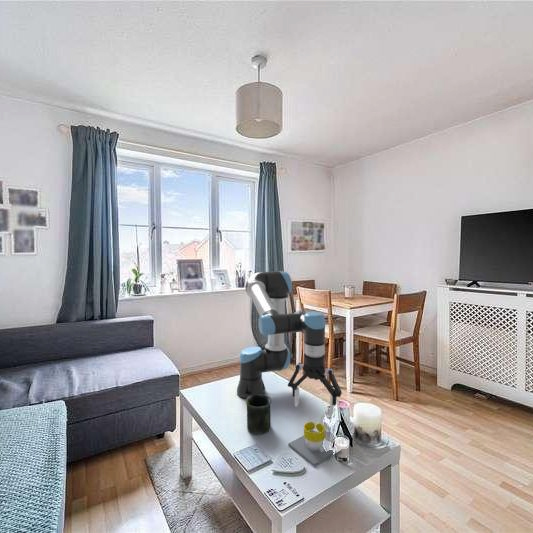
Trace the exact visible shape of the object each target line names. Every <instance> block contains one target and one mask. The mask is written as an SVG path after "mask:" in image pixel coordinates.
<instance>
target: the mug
mask: <svg viewBox="0 0 533 533" xmlns="http://www.w3.org/2000/svg"><path fill="white" fill-rule="evenodd" d="M245 404H246V428H247V430H248V431H249V432H250V433H251V434H253V435H264V434H267V433H268V432H270V430H271V427H272V426H271V425H272V422H271V420H272V419H271V416H272V415H271V412H272V410H271V409H272V408H271V404H272V399H271V397H270V396H268V395H266V394H264V395H262V394H256V395H252V396H249V397H248V398H247V399H245Z"/></svg>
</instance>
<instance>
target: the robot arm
mask: <svg viewBox="0 0 533 533" xmlns="http://www.w3.org/2000/svg"><path fill="white" fill-rule="evenodd" d="M244 287H245V292H246V294H247V296H248V297H249V298H250V299H251V301H252V302H253V304H254V306H255V309H256V311H257V312H258V315H259V318H258V328H259V329H258V330H259V333H260V334H261V335H263V336H264V335H265V336H266V335H267V343H266V344H265V346H264V349H262V348H261V347H260V346H250V347H246V348H244V349H242V350H241V352H240V353H239V381H238V385H237V388H236V394H237V396H238V397H239V398H241V399H244V400H246V399H247V398H248V397H249V396H252V395H256V394H262V395H266V386H265V382H264V380H263V373H270V372H278V371H279V372H281V371H284V370H287V369H288V368H289V367H290V364H291V351H290V349H289V347H287V345H286V344H285V334H289V333H291V334H292V333H302V334H303V335H304V336H303V337H304V340H303V342H304V345H303V349H304V350H303V351H304V352H303V353H304V355H303V357H304V358H303V364H301V362H298V363H297V364H296V365H295V371H294V372H293V374H292V376H291V377H290V380H289V382H288V384H287V386H288V387H289V388H291V389H292V392H291V393H292V397H294V407H298V405H299V404H300V396H299V395H300V387H299V385H300V384H301V383H302V382H303V381H305V379H307V378H309V379H310V380H316V381H320V382H321V383H322V384H323V386H324V387H325V388H326V390H327V391H328V393H329V394H330V397H329V402H330V403H329V415H331V416H332V415H333V414H334V410H335V409H334V407H335V406H336V405H337V402H338V401H337V399H338V398H340V397H341V395H342V394H343V392H342V389H341V387H340V386H339V383H338V381H337V379H336V376H335V374H334V368H332V367H331V368H326V366H325V350H326V349H325V348H326V346H325V344H326V343H325V340H326V339H325V338H326V336H325V334H326V319H325V318H326V317H325V314H323V313H322V312H318V311H309V312H306V311H303V310H297V311H295V312H292V313H285V312H286V310H285V308H286V307H285V306H286V300H287V299H288V297H289V294H291V293H292V290H293V282H292V278H291V275H290V274H289V273H288V271H282V270H277V271H275V270H271V271H257V272H254V273H253V274H251V275H249V277H248V279H247V281H246V282H245V286H244ZM302 370H303V372H304V374H303V375H302V376H300V378H299V379H298V380H297V381H296V382H295V380H296V378H297V376H298V375H299V373H300V371H302ZM325 374H326V375H327V376H328V378H329V380H330V382H331V383H330V382H329V380H328V378H327V377H326V375H325ZM294 382H295V383H294ZM288 387H287V388H288Z"/></svg>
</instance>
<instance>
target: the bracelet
mask: <svg viewBox="0 0 533 533" xmlns="http://www.w3.org/2000/svg"><path fill="white" fill-rule="evenodd" d="M315 429H316V431H319V432H320V433H313V432H309V431H311V430H315ZM303 436H304V437H305V438H306V439H308V440H310V441H313V442H320V441H322V440H324V438H326V427H325V425H324V424H322V423H320V422H318V423H316V424H315V423H314V422H313V421H308V422H306V423H304V425H303Z"/></svg>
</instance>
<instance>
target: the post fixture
mask: <svg viewBox="0 0 533 533" xmlns="http://www.w3.org/2000/svg"><path fill="white" fill-rule="evenodd" d="M309 432H313V433H320V431H318V430H315V429H313V430H309ZM287 444H288V447H289V448H290V449H291V450H293V451H294V452H295V453H297V454H298V455H299V456H300V457H302V458H303V459H304V460H305V461H306V462H307V463H309V464H310V465H312V467H314V468H315V467H317V466H318V465H320V464H322V463H323V462H324V461H326V460H328V459H330V458H331V456H332V455H333V453H334V452H333V450H329V451H327V452H326V451H324V448H323V447H322V445H323V440H322V441H320V442H313V441H310V440H308V439H306V438H305V437H304V435H302V436H300V437H298V438H296V439H294V440H292V441H290V442H288V443H287ZM333 456H334V455H333ZM333 456H332V457H333Z"/></svg>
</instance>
